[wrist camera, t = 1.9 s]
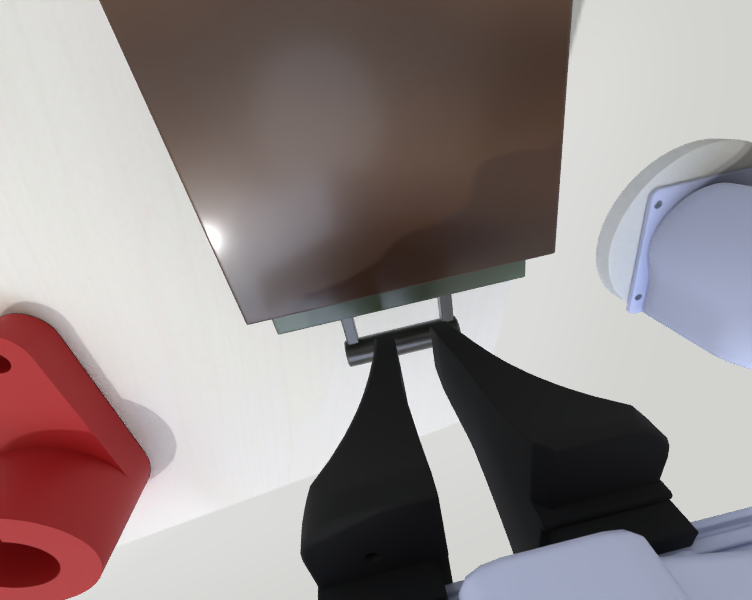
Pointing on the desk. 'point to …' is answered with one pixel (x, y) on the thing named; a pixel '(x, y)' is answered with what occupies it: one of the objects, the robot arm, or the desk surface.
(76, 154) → the desk surface
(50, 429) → the lever
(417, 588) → the robot arm
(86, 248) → the desk surface
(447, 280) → the drawer
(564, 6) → the cabinet
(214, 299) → the desk surface
